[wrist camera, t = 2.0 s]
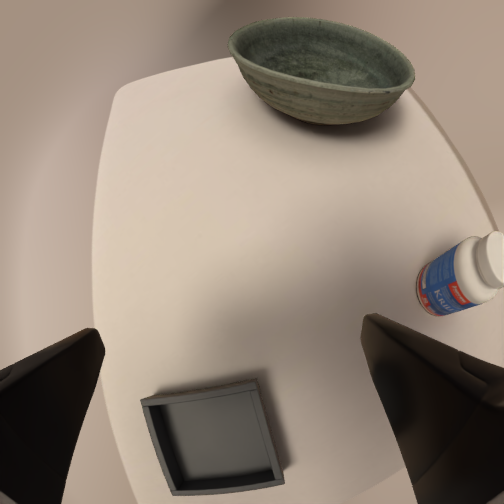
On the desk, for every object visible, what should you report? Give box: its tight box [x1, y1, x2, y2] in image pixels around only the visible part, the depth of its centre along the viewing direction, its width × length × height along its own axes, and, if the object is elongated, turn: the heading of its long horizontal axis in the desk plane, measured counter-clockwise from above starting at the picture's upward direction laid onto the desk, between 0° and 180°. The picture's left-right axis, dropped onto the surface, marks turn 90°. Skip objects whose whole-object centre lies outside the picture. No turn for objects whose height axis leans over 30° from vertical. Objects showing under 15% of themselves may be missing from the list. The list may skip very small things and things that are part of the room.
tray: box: [140, 378, 285, 496], centre depth 17 cm, size 9×9×3 cm
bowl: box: [228, 17, 415, 125], centre depth 26 cm, size 21×21×10 cm
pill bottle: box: [417, 231, 504, 316], centre depth 17 cm, size 6×5×10 cm
